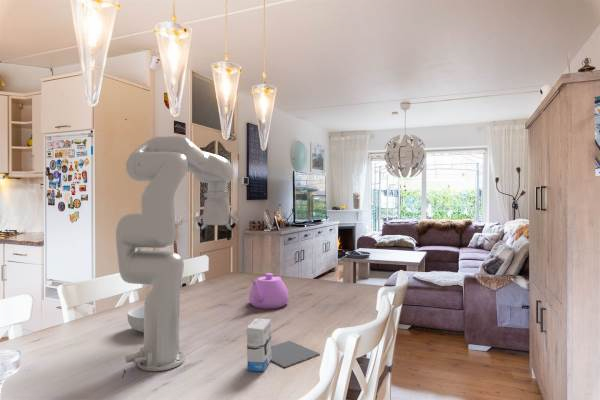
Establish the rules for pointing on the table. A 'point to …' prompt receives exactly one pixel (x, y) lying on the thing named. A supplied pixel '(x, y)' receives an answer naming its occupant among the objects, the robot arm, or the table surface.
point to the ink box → (259, 344)
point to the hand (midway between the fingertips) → (216, 239)
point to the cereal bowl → (136, 318)
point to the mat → (290, 353)
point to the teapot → (268, 292)
